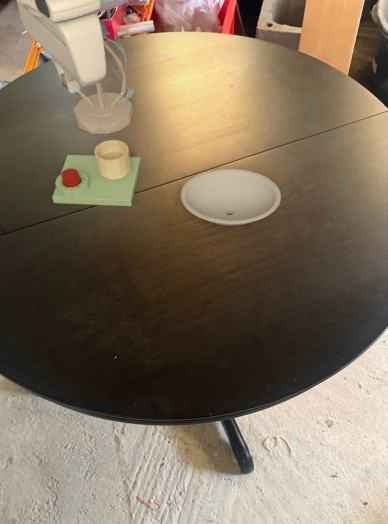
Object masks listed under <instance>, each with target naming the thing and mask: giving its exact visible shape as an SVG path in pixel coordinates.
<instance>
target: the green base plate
mask: <svg viewBox="0 0 388 524" xmlns="http://www.w3.org/2000/svg"><path fill="white" fill-rule="evenodd" d="M130 161H131V170H130V172H129V173H128V174H127V175H126V176H125V177H123V178H120V179H115V180H112V179H107V178H105V177H103V176H102V175H101V174H100V173H99V171H98V167H97V162H96V158H95V155H89V154H88V155H87V154H67V155H66V158H65V161H64V164H63V166H62V169H61V171H60V174H59V175H58V176H57V177H56V179H55V182H54V184H55V189H54V191H53V194H52V196H51V197H52V198H51V199H52V201H53V204H63V205H65V204H66V205H67V204H69V205H87V206H88V205H93V206H113V207H133V202H134V197H135V192H136V189H137V184H138V180H139V176H140V171H141V165H142V157H141V156H140V157H139V156H130ZM70 168H73V169H76V170H77V171H78V173H79V176H80V180H81V182H80V184H79V185H78V186H75V187H66V186H65V185H64V183H63V180H62V176H61V174H62V172H63V171H64V170H66V169H70Z"/></svg>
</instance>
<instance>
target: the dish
mask: <svg viewBox="0 0 388 524" xmlns="http://www.w3.org/2000/svg"><path fill="white" fill-rule="evenodd" d="M281 199H282V194H281V190H280V189H279V187H278V185H277V184H276V183H275V182H274V181H273V180H271V179H270V178H269V177H267V176H265V175H263V174H261V173H258V172H255V171H253V170H247V169H242V168H217V169H212V170H207V171H204V172H201V173H198V174H197V175H194V176H192V177H191V178H190V179H188V180H187V181H186V182H185V183H184V185H183V186H182V189H181V192H180V201H181V203H182V205H183V207H184V208H185V209H186V210H187V211H188V212H189V213H191V214H192V215H193V216H195V217H197V218H199V219H202V220H204V221H207V222H209V223H212V224H216V225H220V226H227V227H234V226H242V225H248V224H250V223H254V222H257V221H260V220H262V219H264V218H266V217H268V216H270V215H272V213H274V212H275V211H276V210H277V209H278V207H279V205H280V204H281V202H282V201H281Z"/></svg>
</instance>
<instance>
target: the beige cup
mask: <svg viewBox="0 0 388 524" xmlns="http://www.w3.org/2000/svg"><path fill="white" fill-rule="evenodd" d="M93 153H94V156H95V158H96V162H97V167H98V171H99V173H100V174H101V175H102V176H103V177H105V178H107V179H112V180H115V179H120V178H123V177H125V176H126V175H127V174H128V173H129V172H130V170H131V161H130V157H131V155H130V149H129V146H128V144H127V143H126V142H124V141H122V140H118V139H109V140H104V141H101V142H99V144H97V145H96V147H95V148H94V151H93Z"/></svg>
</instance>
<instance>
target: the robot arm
mask: <svg viewBox="0 0 388 524" xmlns="http://www.w3.org/2000/svg"><path fill="white" fill-rule="evenodd" d="M16 4H17V8H18V12H19V16H20V19H21V22H22V25H23V27H24V30H25V31H26V32H27V34H29V35H30V36H31V38H33V39H34V40H35V41H36V42H37V44H39V46H41V47H42V48H43V50H45V51H46V52H47V53H48V54H49V55H50V58H51V60H52V63H53V65H54V66H55V69H56V71H57V74H58V77H59V80H60V84H61V85H62V86H63V87H64V88H65V89H66V91H67V90H68V91H69V92H68V91H67V92H68V93H69V94H71V93H74V92H75V93H77V91H79V90H80V91H81V87H85V88H86V87H89V86H92V85H96V83H98V82H100V81H101V82H102V81H104V80H105V78H106V75H107V60H106V59H107V58H106V52H105V46H104V42H103V35H102V29H101V25H100V21H99V19H100V18H99V16H98V14H97V13H96V12H95V11H97V10H100V8H101V4H100V0H16Z"/></svg>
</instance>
